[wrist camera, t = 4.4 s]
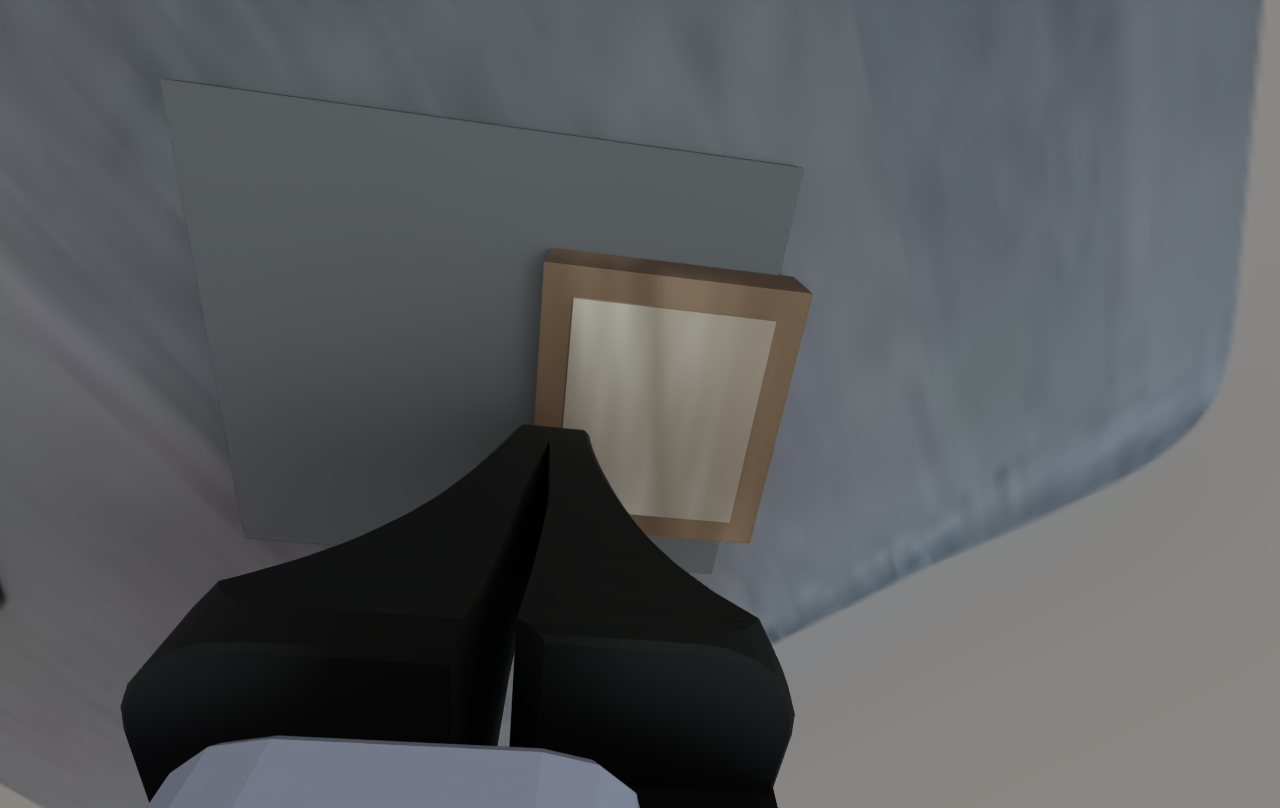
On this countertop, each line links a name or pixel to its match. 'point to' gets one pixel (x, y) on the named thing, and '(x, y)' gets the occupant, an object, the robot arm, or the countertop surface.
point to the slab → (670, 382)
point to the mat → (414, 285)
